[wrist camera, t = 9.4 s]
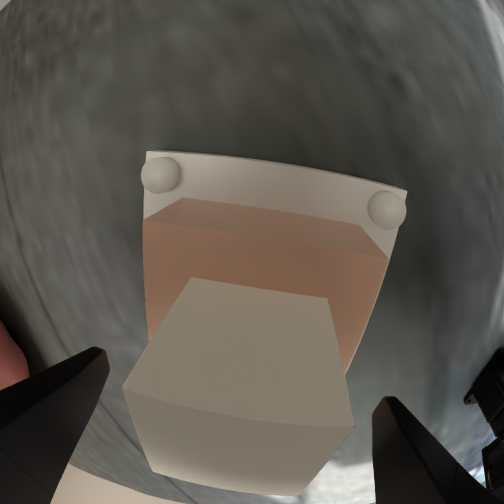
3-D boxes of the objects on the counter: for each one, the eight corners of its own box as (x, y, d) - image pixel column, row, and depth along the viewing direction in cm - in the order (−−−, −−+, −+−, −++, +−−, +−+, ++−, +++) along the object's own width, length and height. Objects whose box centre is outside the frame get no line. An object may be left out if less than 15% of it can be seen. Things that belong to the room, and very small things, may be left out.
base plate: (395, 186, 12) (453, 212, 7) (337, 369, 17) (347, 436, 12) (159, 150, 13) (95, 156, 8) (159, 340, 18) (125, 398, 12)
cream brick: (327, 298, 9) (354, 426, 4) (298, 388, 11) (297, 496, 6) (191, 276, 9) (121, 387, 5) (191, 371, 11) (152, 471, 6)
